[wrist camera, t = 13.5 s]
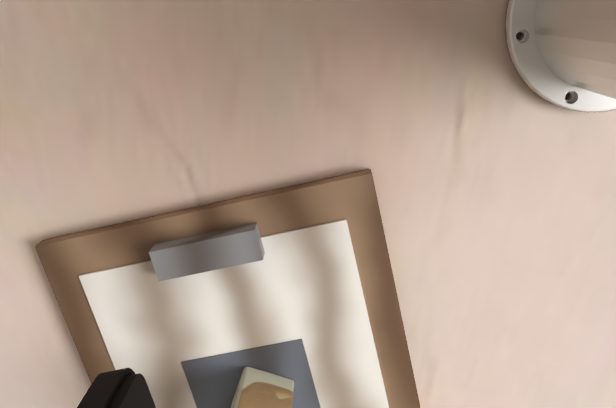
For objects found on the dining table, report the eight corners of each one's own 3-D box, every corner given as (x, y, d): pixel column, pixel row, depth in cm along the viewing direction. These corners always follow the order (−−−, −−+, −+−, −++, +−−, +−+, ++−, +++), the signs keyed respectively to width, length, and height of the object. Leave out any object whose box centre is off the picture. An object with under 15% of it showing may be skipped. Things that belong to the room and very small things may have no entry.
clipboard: (370, 168, 43) (373, 179, 40) (443, 519, 53) (449, 546, 50) (42, 240, 45) (24, 254, 42) (173, 561, 56) (165, 589, 53)
